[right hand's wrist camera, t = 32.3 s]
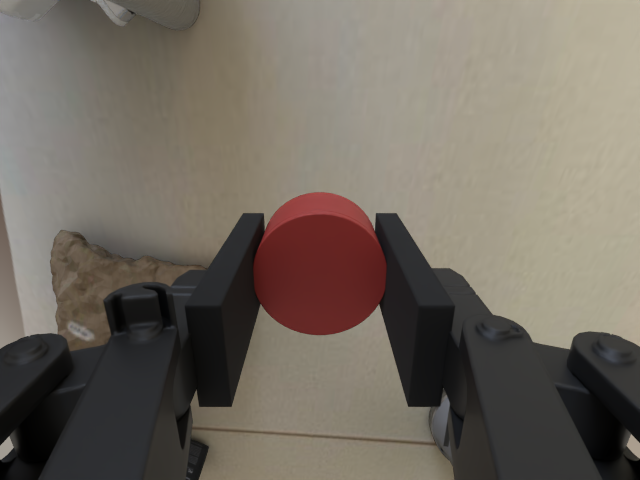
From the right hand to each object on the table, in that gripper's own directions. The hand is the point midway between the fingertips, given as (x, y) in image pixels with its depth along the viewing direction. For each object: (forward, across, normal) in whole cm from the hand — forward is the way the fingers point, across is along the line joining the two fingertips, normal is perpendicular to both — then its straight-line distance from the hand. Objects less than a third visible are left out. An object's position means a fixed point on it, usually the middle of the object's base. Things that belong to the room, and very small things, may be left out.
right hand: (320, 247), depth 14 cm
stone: (+27, +19, +18) cm, 37 cm away
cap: (-2, 0, 0) cm, 2 cm away
